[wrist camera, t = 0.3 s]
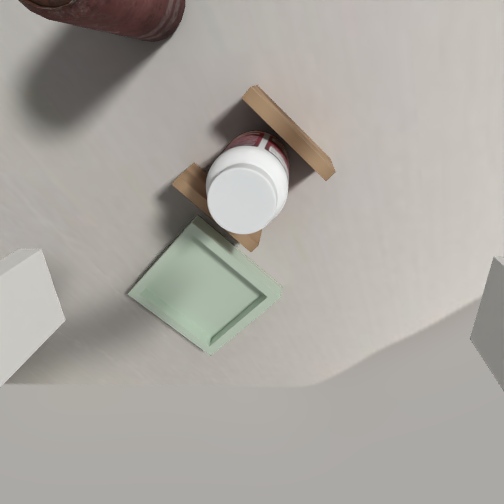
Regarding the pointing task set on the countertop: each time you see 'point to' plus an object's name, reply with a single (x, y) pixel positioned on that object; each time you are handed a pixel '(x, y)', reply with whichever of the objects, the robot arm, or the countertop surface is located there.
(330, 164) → the rack
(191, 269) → the tray
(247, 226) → the pill bottle
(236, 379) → the countertop surface
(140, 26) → the can
